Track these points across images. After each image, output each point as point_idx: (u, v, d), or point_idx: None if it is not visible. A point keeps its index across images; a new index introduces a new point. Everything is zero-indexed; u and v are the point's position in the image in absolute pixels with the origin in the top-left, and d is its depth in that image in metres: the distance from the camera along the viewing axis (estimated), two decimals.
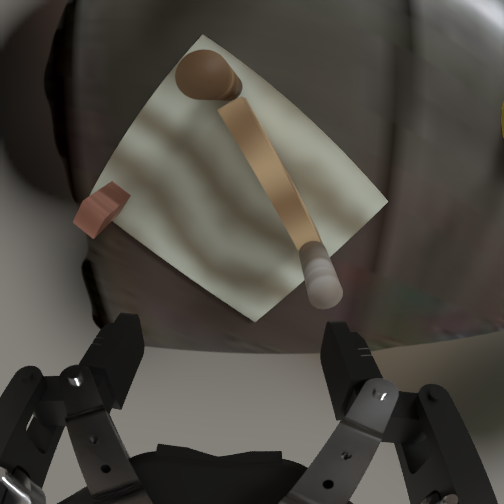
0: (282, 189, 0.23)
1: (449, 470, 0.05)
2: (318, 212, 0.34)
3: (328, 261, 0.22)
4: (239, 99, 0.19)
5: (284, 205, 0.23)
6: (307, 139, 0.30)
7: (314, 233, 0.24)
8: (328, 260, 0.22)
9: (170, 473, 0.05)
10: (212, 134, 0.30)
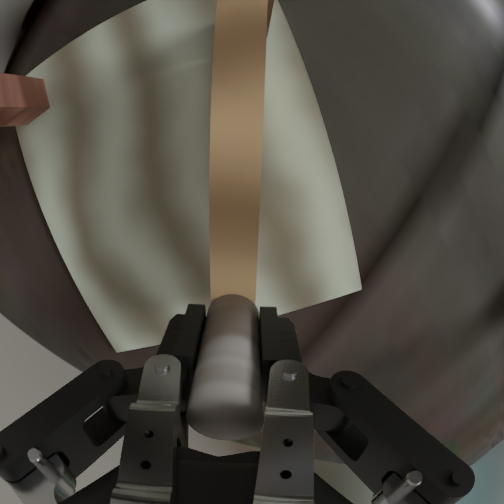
0: (240, 178, 0.11)
1: (397, 450, 0.06)
2: (265, 257, 0.23)
3: (257, 350, 0.11)
4: (262, 1, 0.09)
5: (229, 209, 0.12)
6: (307, 151, 0.20)
7: (253, 285, 0.13)
8: (258, 348, 0.11)
9: None
10: (187, 77, 0.18)
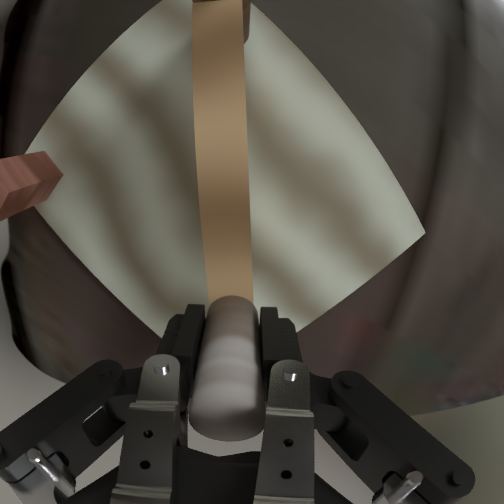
0: (228, 180, 0.11)
1: (398, 450, 0.06)
2: (331, 236, 0.22)
3: (257, 350, 0.11)
4: (236, 2, 0.09)
5: (219, 211, 0.12)
6: (332, 123, 0.19)
7: (250, 285, 0.13)
8: (257, 347, 0.11)
9: None
10: (192, 95, 0.18)
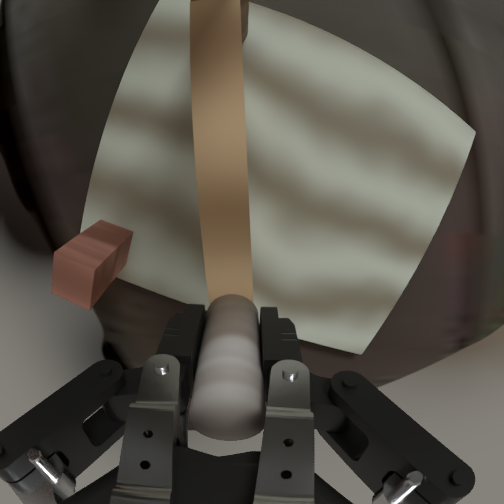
0: (227, 178, 0.11)
1: (398, 450, 0.06)
2: (408, 170, 0.20)
3: (257, 349, 0.11)
4: (234, 0, 0.08)
5: (219, 210, 0.12)
6: (360, 70, 0.18)
7: (250, 284, 0.13)
8: (257, 346, 0.11)
9: None
10: None
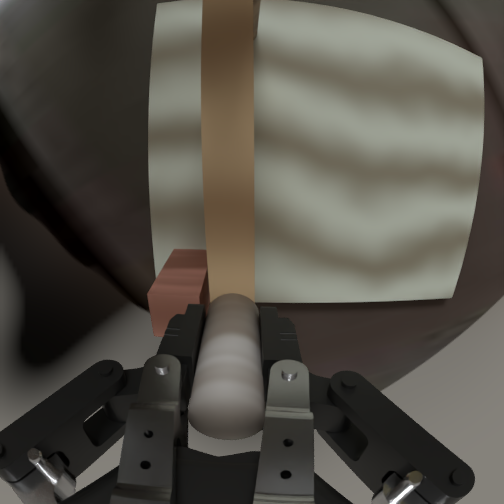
0: (234, 177, 0.11)
1: (397, 450, 0.06)
2: (442, 111, 0.18)
3: (257, 348, 0.11)
4: None
5: (224, 208, 0.12)
6: (369, 32, 0.16)
7: (252, 284, 0.13)
8: (258, 346, 0.11)
9: None
10: (263, 94, 0.18)
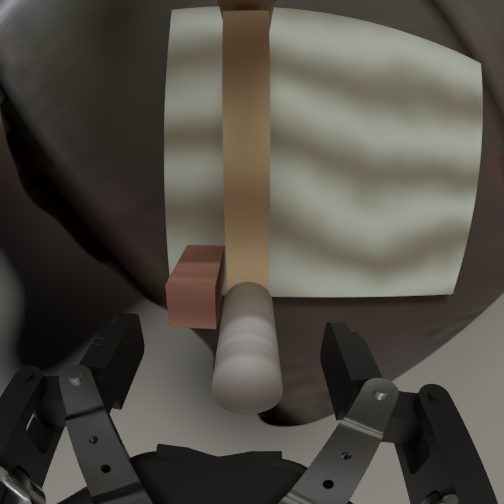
0: (252, 175, 0.13)
1: (449, 470, 0.05)
2: (442, 115, 0.20)
3: (273, 330, 0.12)
4: (263, 13, 0.10)
5: (242, 203, 0.13)
6: (373, 40, 0.18)
7: (266, 273, 0.14)
8: (273, 328, 0.12)
9: (170, 473, 0.05)
10: (273, 98, 0.20)
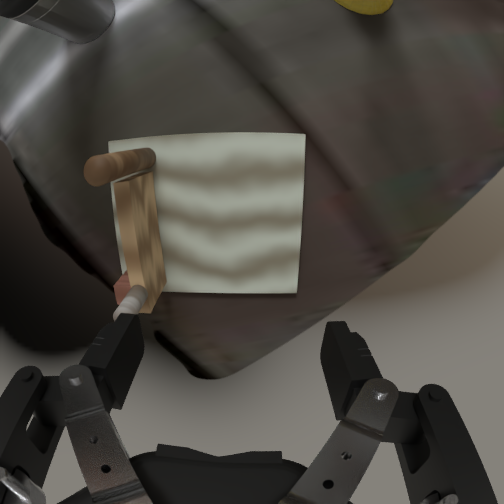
0: (131, 246, 0.34)
1: (449, 470, 0.05)
2: (265, 182, 0.40)
3: (137, 301, 0.33)
4: (126, 182, 0.31)
5: (130, 256, 0.34)
6: (215, 145, 0.38)
7: (143, 281, 0.35)
8: (138, 301, 0.33)
9: (170, 473, 0.05)
10: (161, 191, 0.41)
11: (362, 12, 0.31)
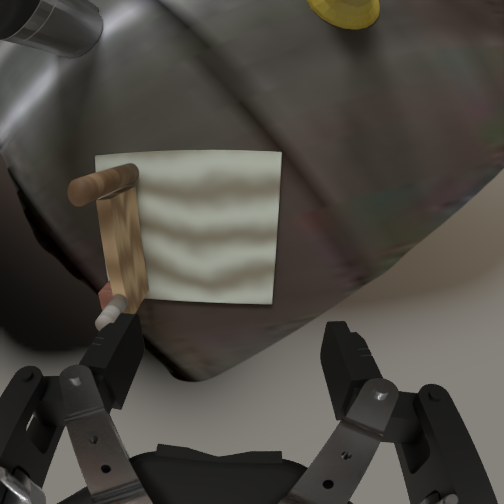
0: (113, 259, 0.35)
1: (449, 470, 0.05)
2: (241, 199, 0.42)
3: (118, 310, 0.35)
4: (108, 200, 0.33)
5: (112, 268, 0.36)
6: (194, 162, 0.40)
7: (124, 291, 0.37)
8: (119, 309, 0.35)
9: (170, 473, 0.05)
10: (144, 205, 0.42)
11: (345, 27, 0.33)
